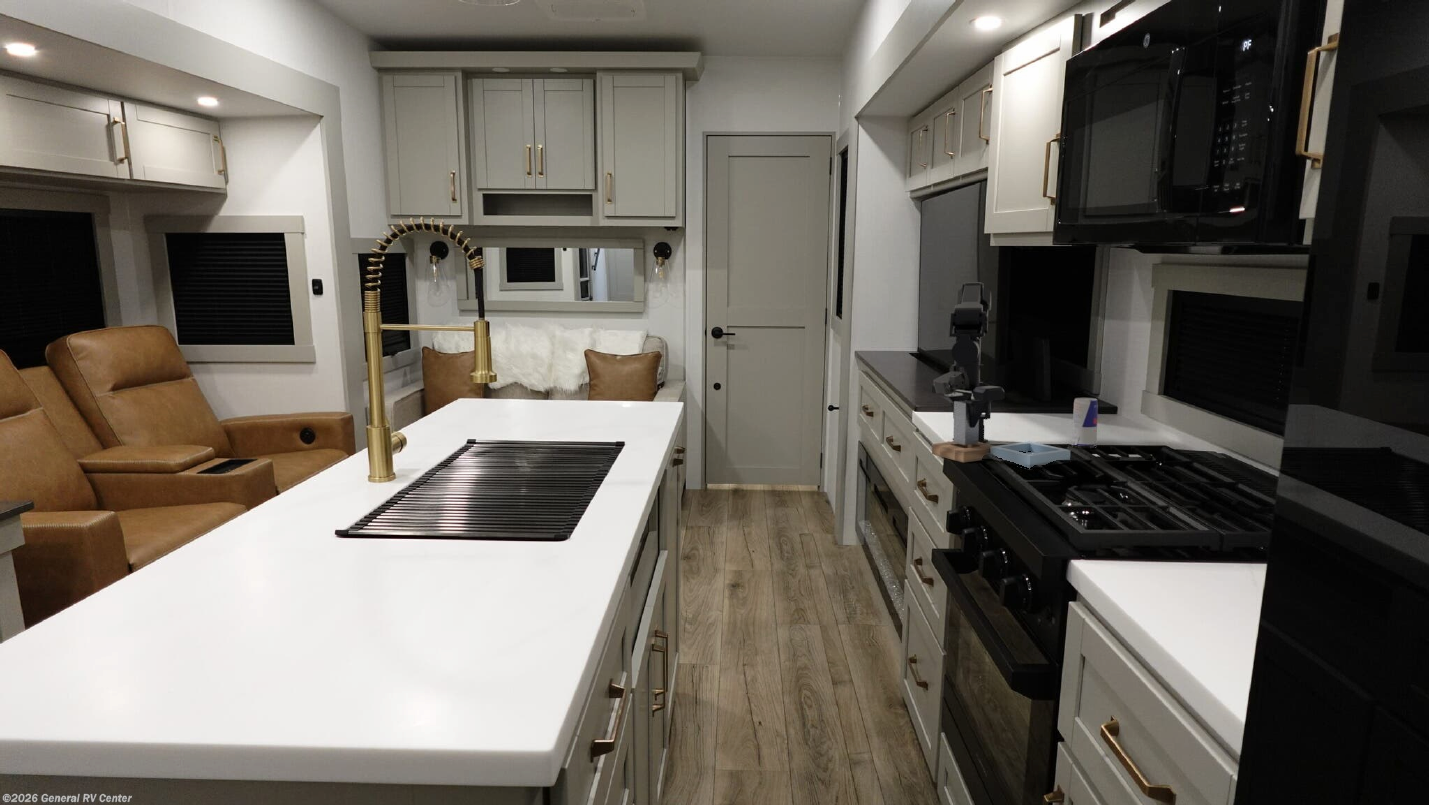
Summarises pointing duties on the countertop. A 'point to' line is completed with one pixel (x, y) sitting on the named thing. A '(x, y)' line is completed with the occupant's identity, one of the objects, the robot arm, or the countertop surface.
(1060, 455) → the blue tray
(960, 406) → the gray rectangular block
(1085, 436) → the energy drink
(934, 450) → the walnut socket block
